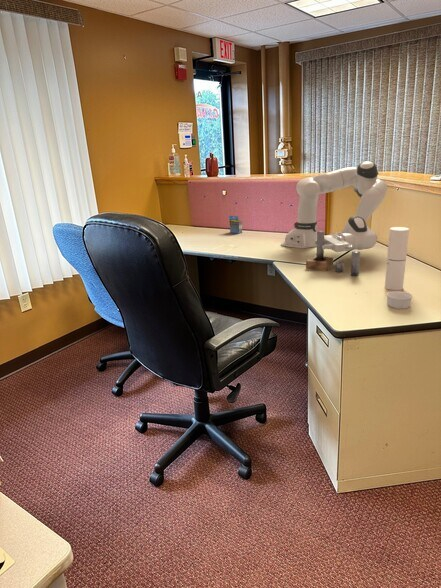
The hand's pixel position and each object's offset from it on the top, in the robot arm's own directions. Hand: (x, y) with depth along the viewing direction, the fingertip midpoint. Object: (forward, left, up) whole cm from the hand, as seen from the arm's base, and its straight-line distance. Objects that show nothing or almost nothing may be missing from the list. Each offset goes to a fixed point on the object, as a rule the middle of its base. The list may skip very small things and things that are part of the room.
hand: (318, 244), depth 205 cm
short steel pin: (+12, -3, -12) cm, 17 cm away
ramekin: (+44, -37, -12) cm, 59 cm away
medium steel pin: (+20, -6, -12) cm, 24 cm away
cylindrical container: (+39, -17, -12) cm, 44 cm away
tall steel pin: (+1, +1, -12) cm, 12 cm away
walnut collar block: (+1, +1, -12) cm, 12 cm away
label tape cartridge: (-81, +63, -12) cm, 103 cm away
